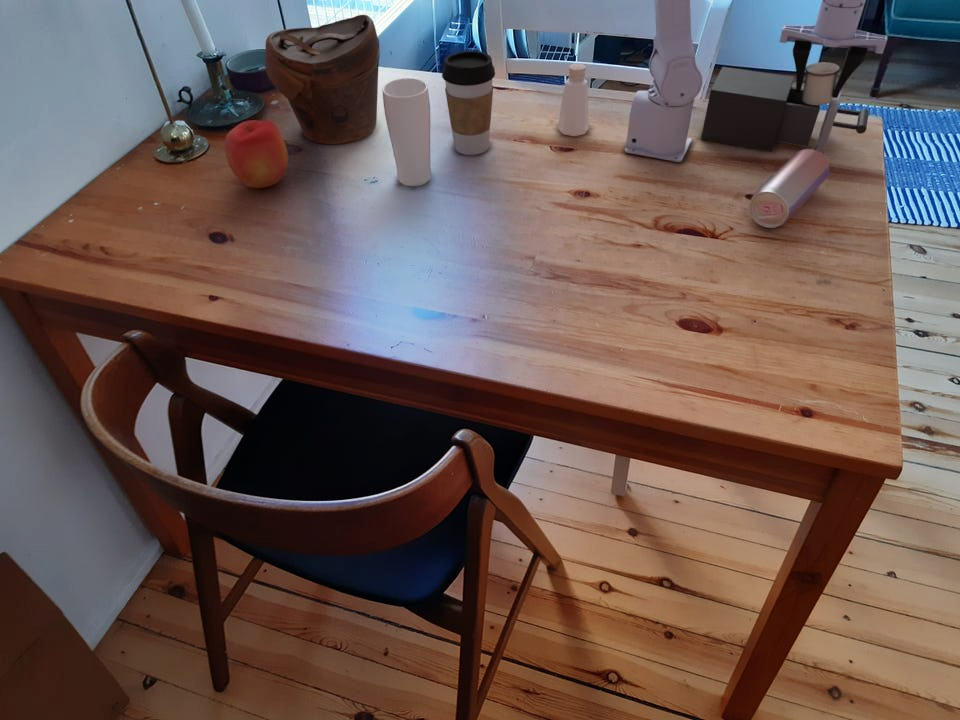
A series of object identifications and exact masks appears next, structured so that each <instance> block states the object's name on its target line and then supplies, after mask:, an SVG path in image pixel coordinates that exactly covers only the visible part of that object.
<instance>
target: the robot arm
mask: <svg viewBox="0 0 960 720" xmlns="http://www.w3.org/2000/svg"><path fill="white" fill-rule="evenodd" d="M653 1H654V2H653V3H654V16H655V17H654V18H655V19H654V20H655V32H656V33H655V36H654V38H653V39H652V41H653V49H652V53H651V56H650V58H649V61H648V71H649V74H650V75H651V77H652V78H653V80H652V83H651V85H650V86H649V89H648V90H636V93H635V95H634V97H633V100H632V104H631V108H630V112H629V119H628V126H627V135H626V142H625V143H626V144H625V147H624V153H626V154H631V155H638V156H644V157H648V158H654V159H659V160H665V161H670V162H675V163H681V162H683V160H684V158H685V157H686V154H687V151H688V150H689V148H690V146H691V143H692V141H693V139H692V137H688V134H689V130H690V124H691V120H692V119H691V118H692V113H693V109H694V103H695V99H696V98H697V96H698V95H699V93H700V92H701V90H702V87H703V75H702V73H701V71H700V70H699V68H698V66H697V63H696V51H695V47H694V43H693V42H694V41H693V39H692V19H691V17H692V15H691V0H653ZM866 2H867V0H821V4H820V6H819V11H818V14H817V17H816V21H815V25H814V24H813V25H812V24H811V25H809V24H808V25H806V24H805V25H804V24H803V25H793V24H792V25H791V24H789V25H788V24H784V25H783V27H782V29H781V34H780V38H779V40H778V41H779V43H783V44H787V43H788V42H789V43H794V44H793V48H792V57H793V60H794V66H795V75H796V76H795V77H796V83H795V87H796V91H795V92H796V93H800V90H801V88H803V83H804V81H805V75H806V72H805V69H806V67H807V64H808V60H809V57H810V53H811V50H812V46H813V45H815V46H816V45H817V46H822V47H823V46H824V47H827V48H842V49H847V52H846V55H845V58H844V61H843V65H842V68H841V71H840V74H839V76H838V78H837V80H836V83H835V88H834V93H833V98H837V97H838V95H839V92H840V91H841V92H842V89H843V87H844V85H845V84H846V83H847V81H848V80H849V78H851V76H852V74H853V73H854V72H855V71H856V70H858V68H859V67H860V66H861V64H862V63H863V62H864V61H865V59H866V56H867V52H868V51H869V52H874V54H879V55H880V54H881V55H883V53H884V50H885V48H886V45H887V42H888V37H889V35H884V34H877V33H873V32H868V31H865V30H860V29H858V27H859V23H860V19H861V16H862V13H863V10H864V7H865V4H866Z"/></svg>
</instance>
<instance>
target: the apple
mask: <svg viewBox="0 0 960 720" xmlns="http://www.w3.org/2000/svg"><path fill="white" fill-rule="evenodd" d="M224 154H225V159H226V161H227V164H228V166H229V167H230V169H231V171H232V173H233V174H234V175H235V177H236V178H237V179H238V180H239V181H240V182H241V183H243V184H244V185H246V186H247V187H250V188H254V189H265V188H268V187H271V186H274V185H276V184H278V183H279V182H280V181H281V180H282V179H283V177H284V176H285V174H286V171H287V168H288V163H289V154H288V149H287V144H286V142H285V139H284V137H283V135H282V133H281V131H280V129H279V128H278V126H277V125H276V124H275V123H274V122H273V121H271V120H257V119H252V120H246V121H243V122H241V123H239V124H237V125H236V126H235V127H234V128H232V129H231V130H230V131H229V132H228V133H227V134H226V137H225V139H224Z"/></svg>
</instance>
